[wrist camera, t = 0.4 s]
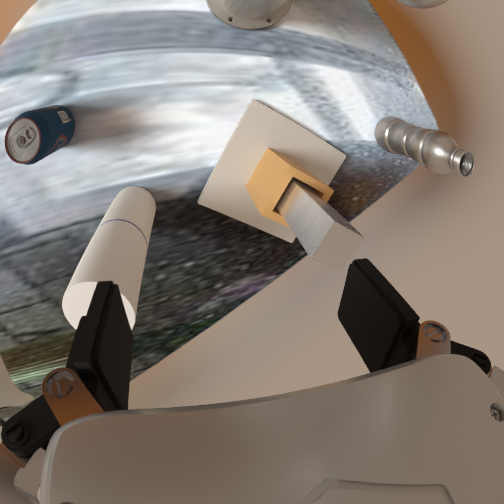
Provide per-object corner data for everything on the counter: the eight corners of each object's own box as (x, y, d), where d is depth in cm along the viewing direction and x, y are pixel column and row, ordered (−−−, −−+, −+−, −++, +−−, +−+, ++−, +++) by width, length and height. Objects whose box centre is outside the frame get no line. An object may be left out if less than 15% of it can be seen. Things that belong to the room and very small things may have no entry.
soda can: (52, 156, 37) (17, 179, 27) (33, 122, 34) (-7, 136, 23) (85, 131, 37) (53, 146, 27) (65, 95, 33) (28, 101, 23)
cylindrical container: (162, 195, 45) (143, 296, 24) (147, 233, 48) (126, 348, 27) (121, 180, 42) (66, 270, 21) (108, 219, 45) (60, 327, 24)
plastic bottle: (389, 155, 49) (467, 195, 32) (363, 138, 46) (444, 173, 29) (403, 127, 46) (486, 157, 29) (379, 107, 44) (464, 130, 27)
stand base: (252, 99, 40) (275, 102, 29) (343, 154, 47) (386, 177, 36) (197, 200, 47) (201, 239, 36) (289, 239, 54) (316, 282, 43)
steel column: (271, 159, 44) (334, 219, 25) (293, 171, 46) (366, 236, 27) (257, 183, 46) (308, 258, 27) (280, 194, 47) (341, 272, 29)
